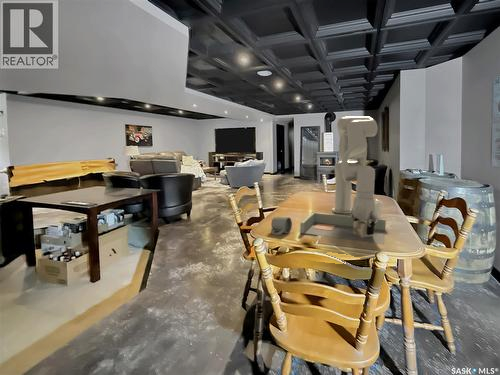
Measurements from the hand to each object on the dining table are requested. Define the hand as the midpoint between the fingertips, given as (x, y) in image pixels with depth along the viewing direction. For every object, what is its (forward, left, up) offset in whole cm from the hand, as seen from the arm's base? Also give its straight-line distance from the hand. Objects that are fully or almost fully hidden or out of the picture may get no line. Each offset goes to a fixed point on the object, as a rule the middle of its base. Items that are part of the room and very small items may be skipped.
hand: (362, 231), depth 128 cm
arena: (-2, -9, -2) cm, 9 cm away
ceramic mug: (+11, -36, -2) cm, 38 cm away
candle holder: (-23, +2, -2) cm, 23 cm away
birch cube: (0, 0, -2) cm, 2 cm away
